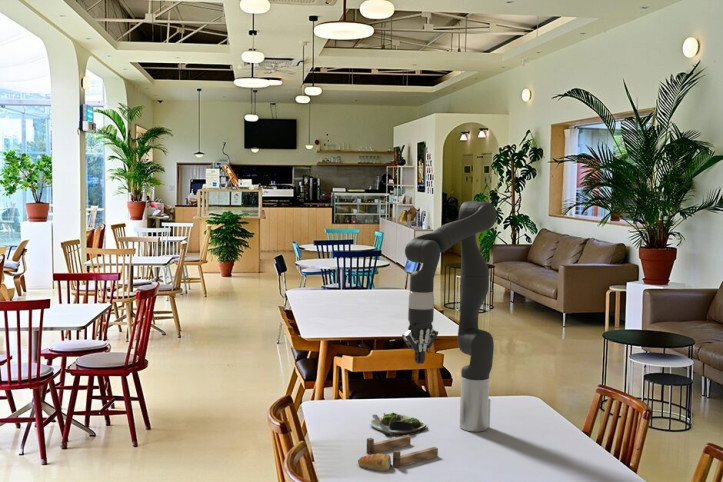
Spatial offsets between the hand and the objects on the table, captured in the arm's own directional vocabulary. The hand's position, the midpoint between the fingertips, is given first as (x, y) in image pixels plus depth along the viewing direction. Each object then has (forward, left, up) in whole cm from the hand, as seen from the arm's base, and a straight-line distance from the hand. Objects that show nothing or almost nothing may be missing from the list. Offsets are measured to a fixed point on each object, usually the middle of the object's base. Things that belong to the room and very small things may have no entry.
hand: (419, 363), depth 226 cm
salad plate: (-9, -20, -28) cm, 35 cm away
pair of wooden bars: (+6, 0, -27) cm, 28 cm away
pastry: (+18, +3, -28) cm, 33 cm away
